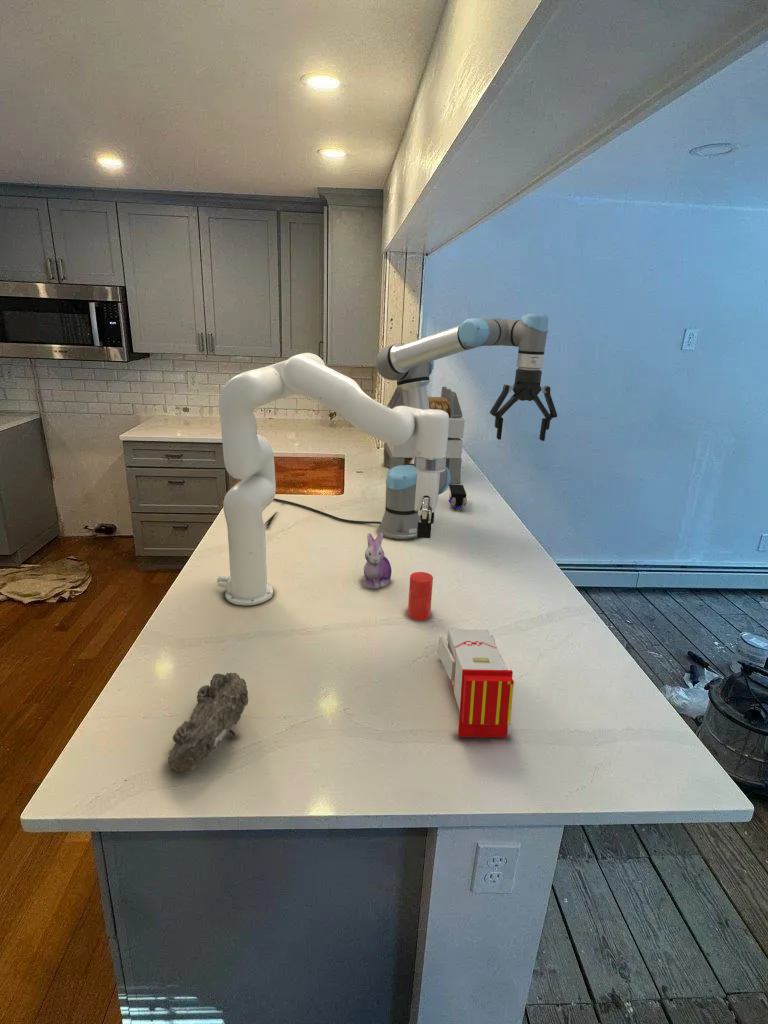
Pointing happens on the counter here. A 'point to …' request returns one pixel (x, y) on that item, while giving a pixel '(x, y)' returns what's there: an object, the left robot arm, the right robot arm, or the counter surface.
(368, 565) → the figurine
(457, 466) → the grey wooden crate
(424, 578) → the can
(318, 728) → the counter surface
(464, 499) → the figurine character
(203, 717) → the fossil
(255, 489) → the left robot arm
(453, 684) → the toy
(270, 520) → the feather
